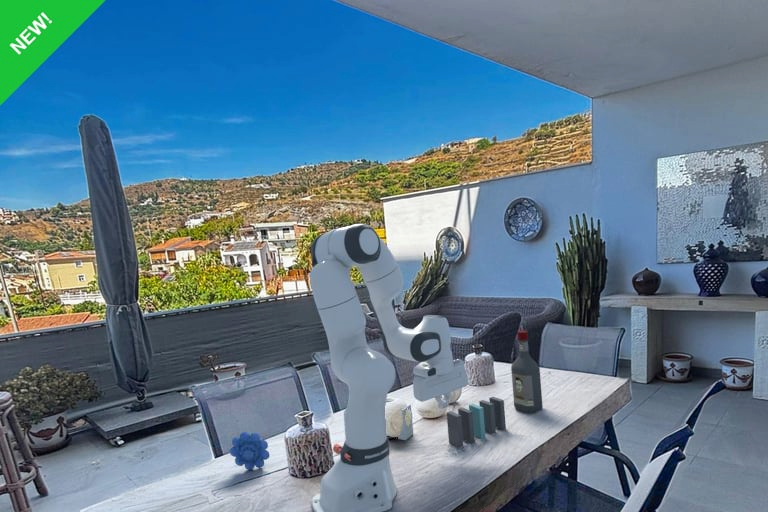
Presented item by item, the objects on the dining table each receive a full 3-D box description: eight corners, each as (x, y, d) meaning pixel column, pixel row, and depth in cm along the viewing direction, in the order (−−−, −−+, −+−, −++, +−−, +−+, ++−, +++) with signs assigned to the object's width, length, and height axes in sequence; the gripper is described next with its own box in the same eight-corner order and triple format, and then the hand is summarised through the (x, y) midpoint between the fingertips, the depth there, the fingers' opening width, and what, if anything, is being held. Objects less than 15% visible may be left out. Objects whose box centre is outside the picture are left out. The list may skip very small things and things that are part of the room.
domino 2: (470, 443, 133) (468, 412, 133) (460, 438, 138) (457, 408, 138) (474, 441, 134) (472, 411, 134) (464, 436, 138) (461, 407, 139)
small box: (413, 434, 143) (411, 404, 143) (405, 441, 139) (403, 410, 139) (394, 430, 148) (392, 401, 148) (386, 436, 143) (383, 406, 143)
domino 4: (492, 434, 139) (489, 405, 139) (481, 429, 143) (479, 401, 143) (495, 432, 140) (493, 403, 140) (485, 428, 144) (482, 399, 144)
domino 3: (481, 438, 136) (479, 408, 136) (471, 433, 140) (468, 404, 140) (485, 437, 137) (483, 407, 137) (474, 432, 141) (472, 403, 141)
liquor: (525, 402, 165) (519, 328, 165) (545, 408, 157) (539, 330, 158) (511, 409, 159) (505, 332, 160) (531, 415, 152) (525, 334, 152)
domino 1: (459, 448, 131) (456, 416, 131) (448, 442, 135) (446, 412, 135) (463, 446, 132) (461, 415, 132) (453, 441, 136) (450, 411, 136)
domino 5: (502, 430, 141) (500, 401, 141) (491, 425, 145) (489, 397, 146) (505, 428, 142) (503, 400, 142) (495, 424, 146) (492, 396, 147)
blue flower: (228, 480, 121) (225, 439, 121) (232, 469, 128) (230, 430, 128) (268, 473, 123) (266, 434, 123) (271, 463, 130) (268, 425, 130)
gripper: (456, 355, 139) (460, 396, 140) (408, 370, 129) (412, 413, 129) (470, 358, 134) (474, 400, 134) (420, 374, 123) (425, 419, 123)
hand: (443, 407), depth 131 cm, fingers closed
